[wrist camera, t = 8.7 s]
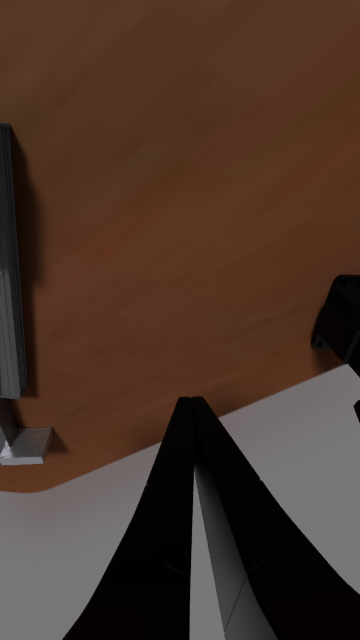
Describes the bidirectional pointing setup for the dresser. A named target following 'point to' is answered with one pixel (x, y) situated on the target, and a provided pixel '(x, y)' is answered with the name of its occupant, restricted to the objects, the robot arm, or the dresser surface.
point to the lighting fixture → (10, 283)
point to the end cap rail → (21, 440)
